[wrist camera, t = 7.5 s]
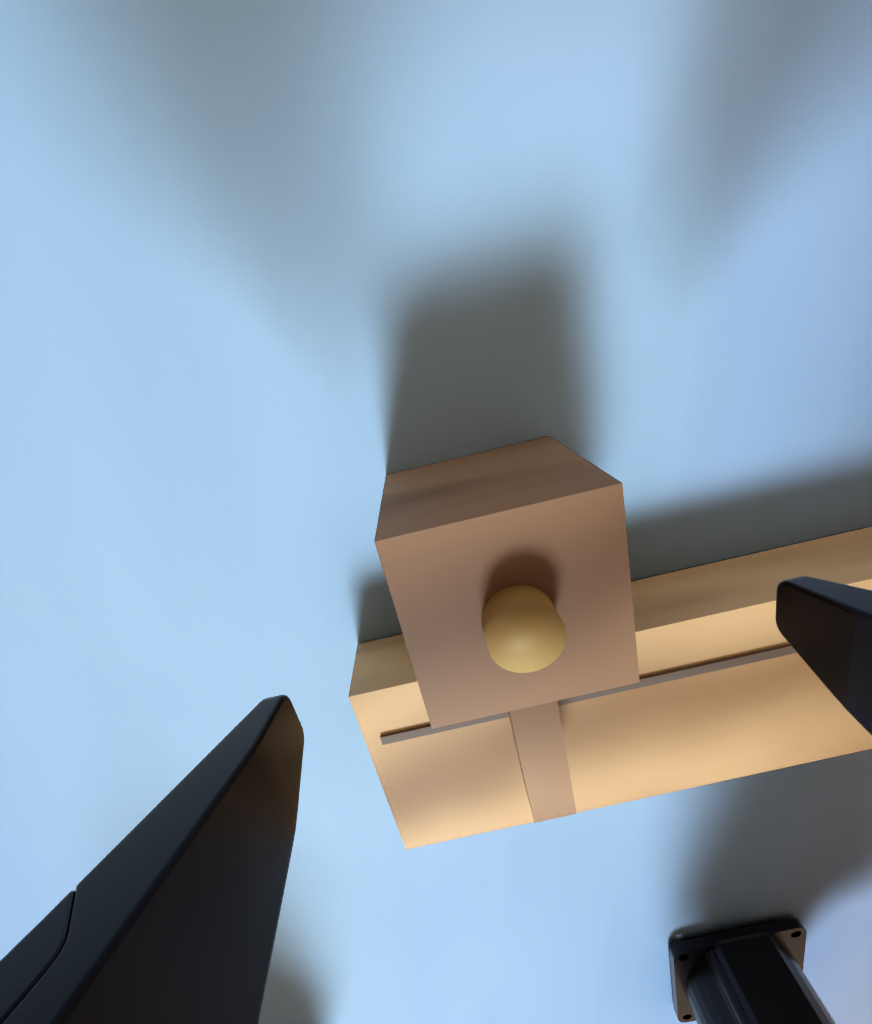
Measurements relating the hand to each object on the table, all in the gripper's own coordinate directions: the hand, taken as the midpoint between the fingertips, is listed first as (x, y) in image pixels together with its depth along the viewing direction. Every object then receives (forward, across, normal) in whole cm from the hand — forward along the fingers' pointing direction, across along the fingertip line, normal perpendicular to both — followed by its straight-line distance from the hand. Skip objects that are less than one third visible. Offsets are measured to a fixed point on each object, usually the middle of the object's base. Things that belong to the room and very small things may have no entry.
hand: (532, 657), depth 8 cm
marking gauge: (+7, 0, +2) cm, 7 cm away
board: (+6, -7, +7) cm, 12 cm away
